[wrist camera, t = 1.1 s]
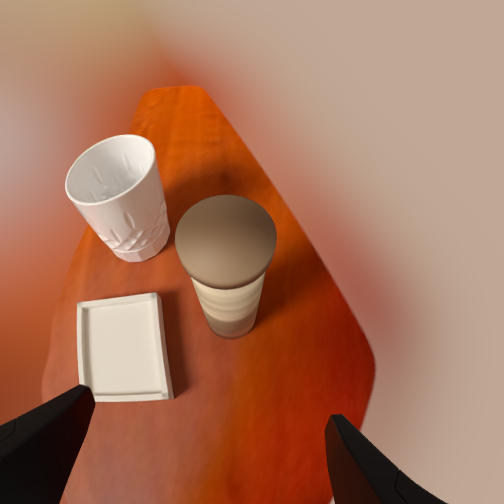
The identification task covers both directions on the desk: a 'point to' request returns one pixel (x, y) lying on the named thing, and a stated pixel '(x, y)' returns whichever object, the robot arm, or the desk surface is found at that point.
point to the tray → (123, 349)
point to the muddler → (227, 259)
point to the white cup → (122, 196)
